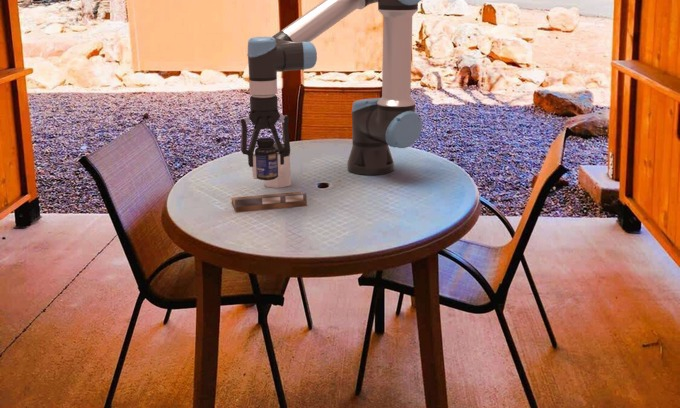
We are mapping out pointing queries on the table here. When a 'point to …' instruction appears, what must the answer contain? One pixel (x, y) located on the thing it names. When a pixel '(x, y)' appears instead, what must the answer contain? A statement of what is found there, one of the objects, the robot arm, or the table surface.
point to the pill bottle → (266, 159)
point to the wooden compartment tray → (269, 201)
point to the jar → (285, 173)
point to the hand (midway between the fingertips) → (266, 176)
